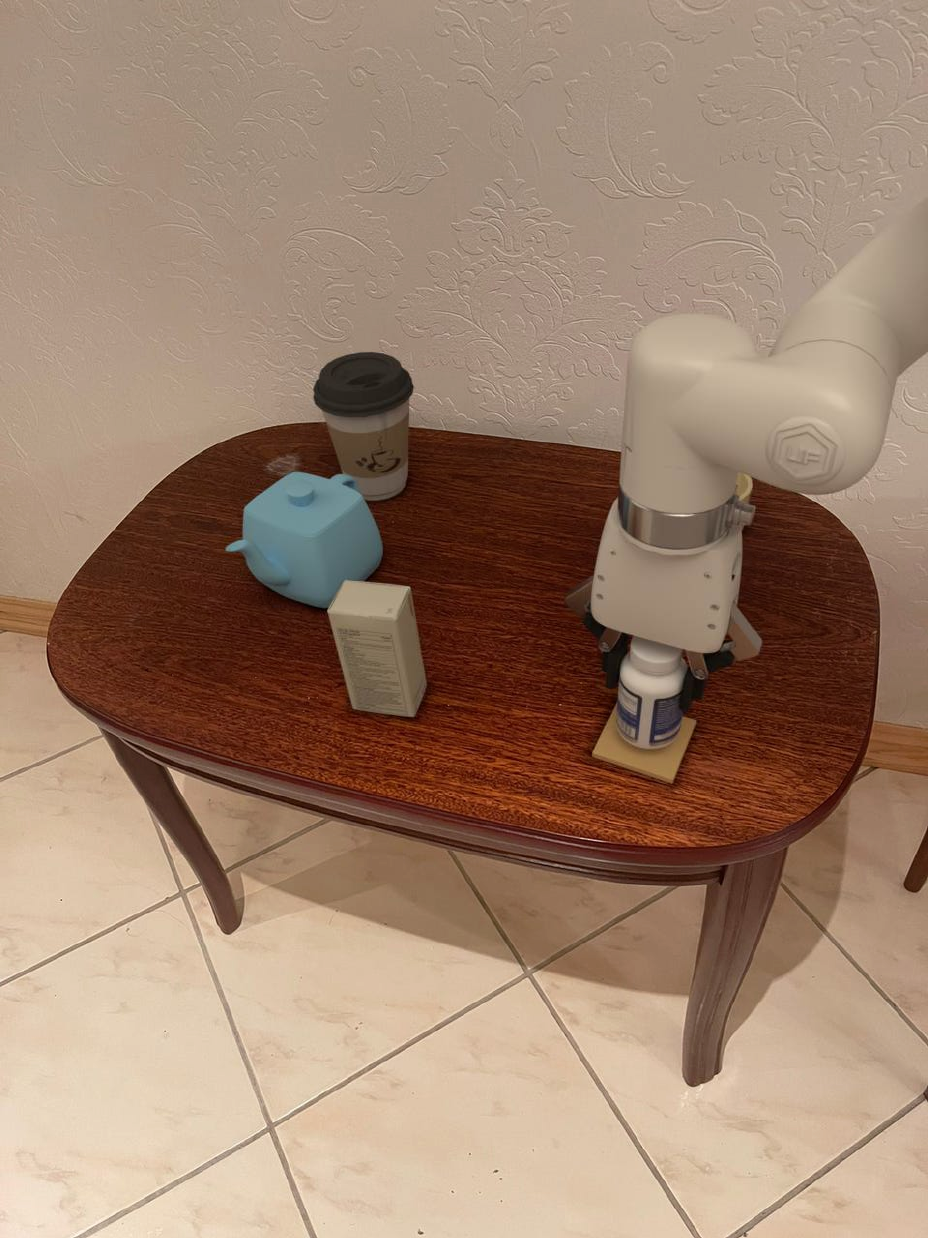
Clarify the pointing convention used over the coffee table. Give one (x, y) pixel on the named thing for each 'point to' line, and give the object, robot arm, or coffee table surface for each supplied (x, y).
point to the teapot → (310, 537)
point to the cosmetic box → (379, 647)
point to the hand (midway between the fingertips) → (651, 687)
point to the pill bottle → (650, 694)
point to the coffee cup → (368, 419)
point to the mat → (644, 751)
